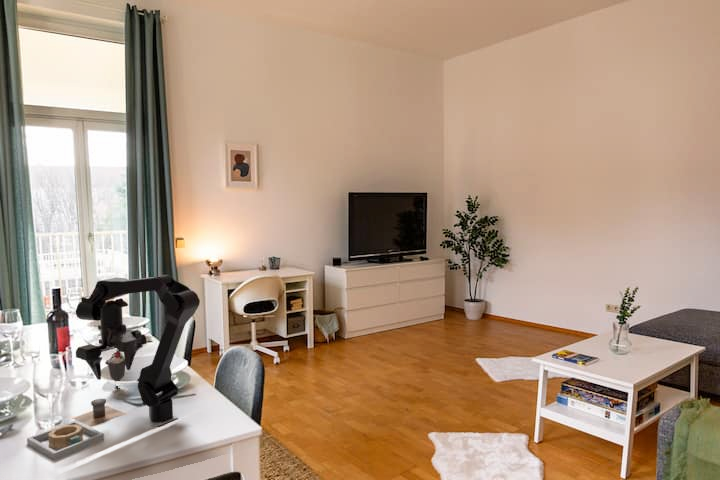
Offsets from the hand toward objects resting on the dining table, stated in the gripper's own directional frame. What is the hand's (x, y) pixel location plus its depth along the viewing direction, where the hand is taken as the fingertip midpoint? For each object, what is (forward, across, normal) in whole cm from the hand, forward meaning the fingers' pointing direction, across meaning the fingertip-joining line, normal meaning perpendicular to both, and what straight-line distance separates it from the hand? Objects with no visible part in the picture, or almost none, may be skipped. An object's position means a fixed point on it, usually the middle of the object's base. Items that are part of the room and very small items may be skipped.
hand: (114, 374), depth 145 cm
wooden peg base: (+12, -5, +1) cm, 13 cm away
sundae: (+12, +11, +16) cm, 23 cm away
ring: (+11, -18, -6) cm, 22 cm away
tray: (+12, -18, -6) cm, 23 cm away
